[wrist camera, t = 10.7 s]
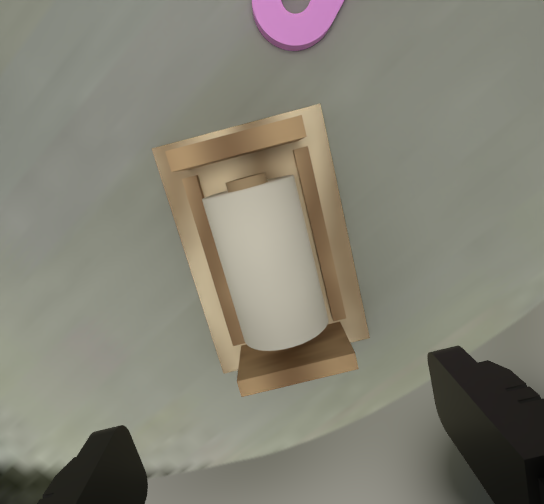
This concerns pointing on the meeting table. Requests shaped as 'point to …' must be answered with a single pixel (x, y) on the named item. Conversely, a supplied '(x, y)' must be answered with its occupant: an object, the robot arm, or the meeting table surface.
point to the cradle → (320, 226)
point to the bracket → (294, 22)
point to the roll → (267, 261)
